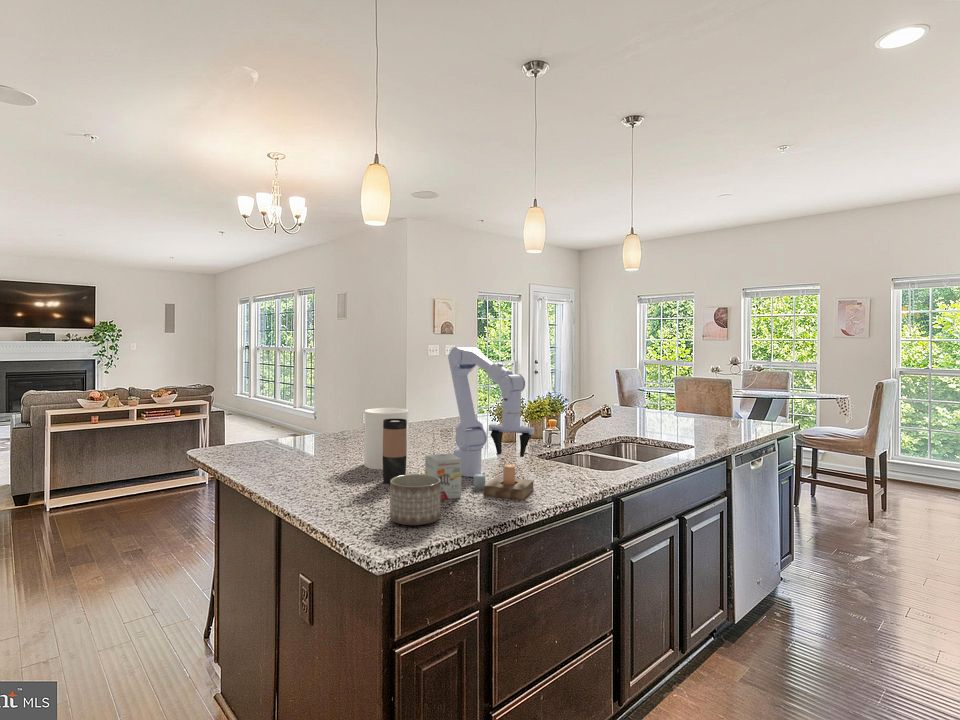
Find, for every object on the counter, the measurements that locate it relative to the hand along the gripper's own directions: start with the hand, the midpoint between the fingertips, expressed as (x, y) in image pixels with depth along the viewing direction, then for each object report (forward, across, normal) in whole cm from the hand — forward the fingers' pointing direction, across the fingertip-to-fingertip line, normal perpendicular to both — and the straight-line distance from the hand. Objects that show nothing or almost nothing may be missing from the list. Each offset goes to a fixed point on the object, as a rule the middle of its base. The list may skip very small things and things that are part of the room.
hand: (510, 455), depth 170 cm
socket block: (+10, +2, -7) cm, 12 cm away
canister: (+11, -51, +10) cm, 53 cm away
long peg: (+10, +2, -7) cm, 12 cm away
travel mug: (+10, -36, -10) cm, 39 cm away
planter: (+10, -12, -41) cm, 44 cm away
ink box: (+10, -15, -18) cm, 25 cm away
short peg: (+10, -8, -6) cm, 14 cm away
